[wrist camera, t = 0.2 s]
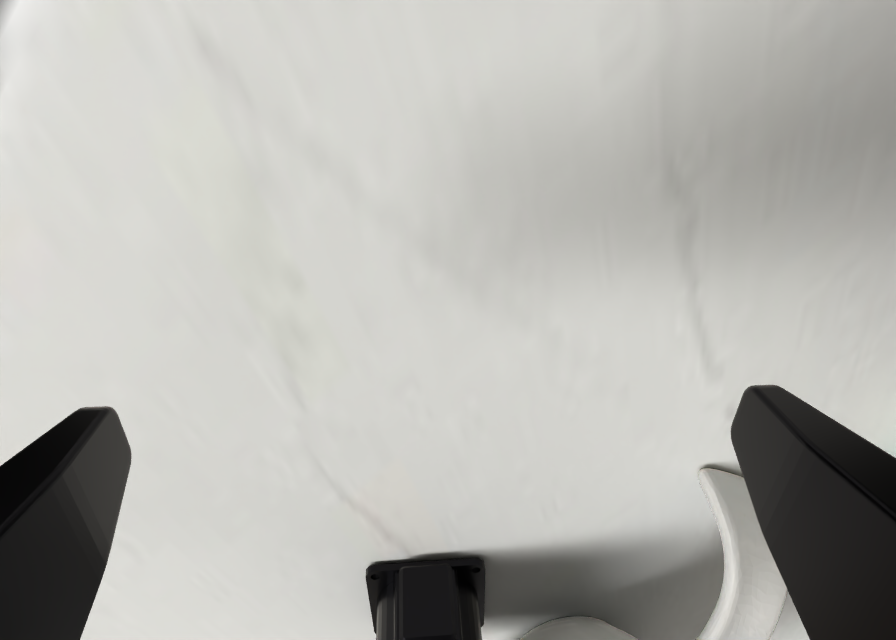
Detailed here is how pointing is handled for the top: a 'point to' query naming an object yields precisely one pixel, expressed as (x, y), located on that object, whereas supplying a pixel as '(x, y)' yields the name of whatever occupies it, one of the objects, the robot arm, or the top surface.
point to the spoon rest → (744, 584)
